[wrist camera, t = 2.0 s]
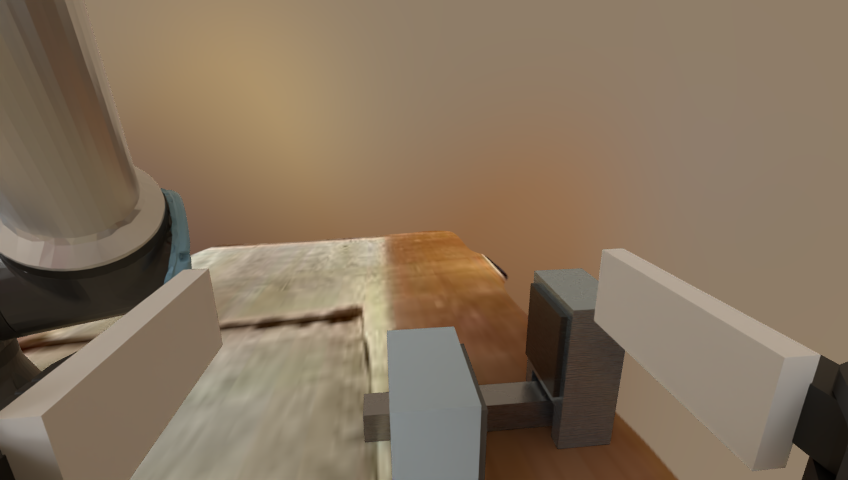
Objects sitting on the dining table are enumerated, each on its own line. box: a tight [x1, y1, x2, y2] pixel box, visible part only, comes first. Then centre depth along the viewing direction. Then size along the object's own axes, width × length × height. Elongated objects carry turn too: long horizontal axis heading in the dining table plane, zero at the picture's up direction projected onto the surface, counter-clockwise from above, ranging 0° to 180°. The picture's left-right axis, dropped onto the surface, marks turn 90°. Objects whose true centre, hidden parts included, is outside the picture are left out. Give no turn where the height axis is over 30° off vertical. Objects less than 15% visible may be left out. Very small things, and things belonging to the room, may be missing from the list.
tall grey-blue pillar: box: [387, 327, 488, 480], centre depth 28 cm, size 9×6×14 cm, turn 6°
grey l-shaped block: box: [363, 269, 625, 449], centre depth 38 cm, size 22×9×14 cm, turn 96°
